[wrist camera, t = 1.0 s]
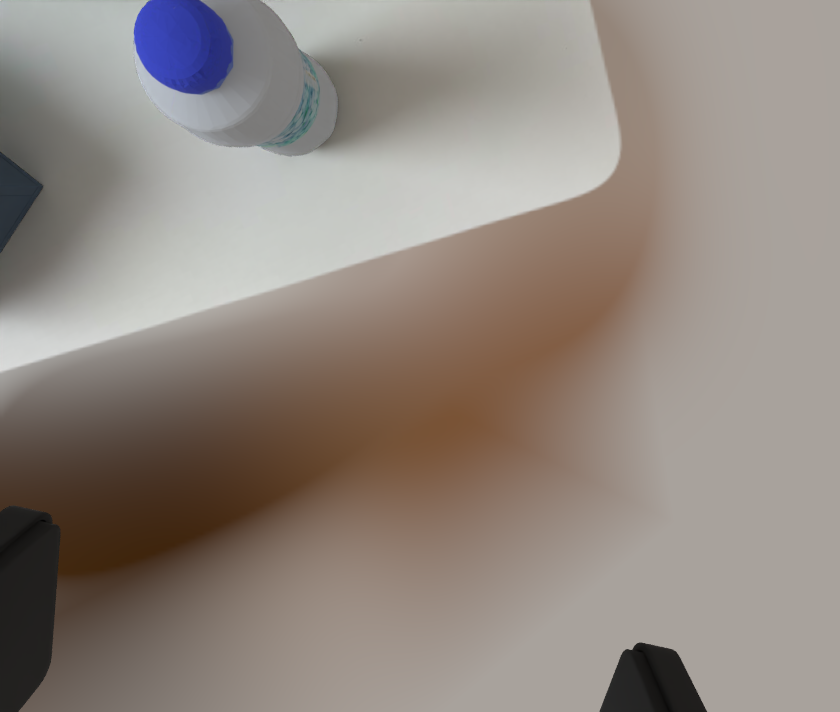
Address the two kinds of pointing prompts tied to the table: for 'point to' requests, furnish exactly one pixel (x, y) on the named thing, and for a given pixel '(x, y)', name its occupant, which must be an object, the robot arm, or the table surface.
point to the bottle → (233, 75)
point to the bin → (14, 197)
